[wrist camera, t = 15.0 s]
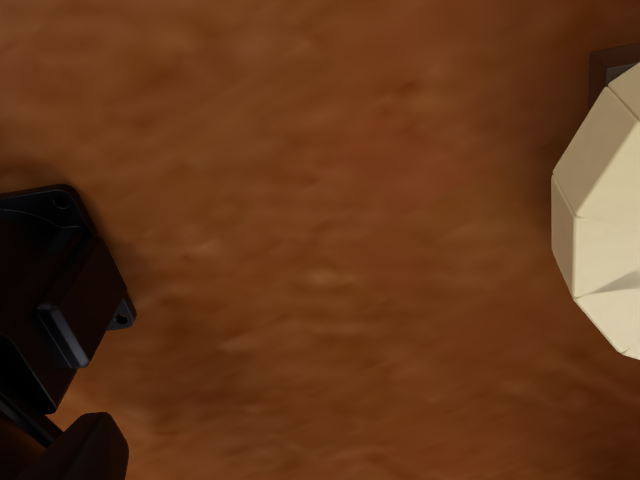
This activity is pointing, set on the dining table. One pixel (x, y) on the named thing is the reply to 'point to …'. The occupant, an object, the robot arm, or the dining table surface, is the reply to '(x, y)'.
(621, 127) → the tape
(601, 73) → the stand
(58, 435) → the robot arm
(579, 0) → the dining table surface
